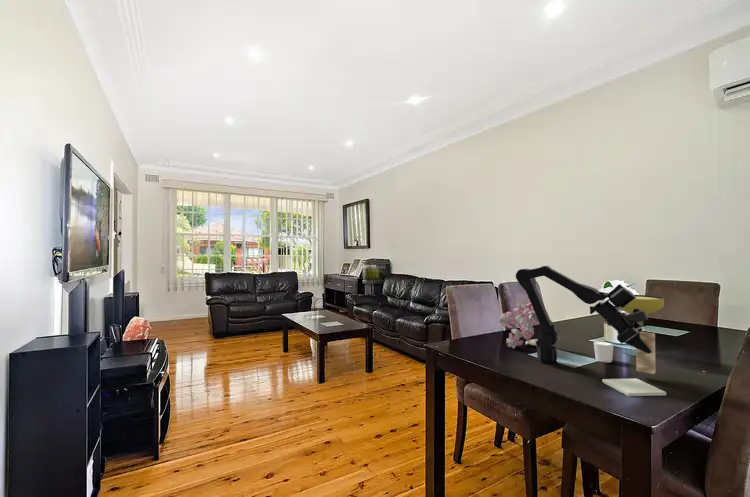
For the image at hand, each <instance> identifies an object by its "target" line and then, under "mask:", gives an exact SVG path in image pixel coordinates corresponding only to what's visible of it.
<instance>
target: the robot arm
mask: <svg viewBox="0 0 750 497" xmlns="http://www.w3.org/2000/svg"><path fill="white" fill-rule="evenodd" d="M539 277H545V278H547V279H549V280H550V281H553V282H554V283H556V284H558V285H559V286H561V287H563V288H565V289H567V290H568V291H570V292H571V293H573V295H575V296H576V297H577V298H578V299H579V300H580V301H582V302H583V303H585V304H586V305H591V306H589V314H590V315H592V314H594V313H595V312H596V313H597V314H598V315H599V316H600V317H601V318H603V320H604V321H606V323H607V325H608V326H609V327H610V326H611V327H612V328H613V329H614V330H615V331H616V334H617V335H616V341H618V342H619V343H620V344H622V345H623V344H624V345H628V346H631V347H633V348H635V349H636V348H637V349H639V350H642V351H644V352H646V353H648V354H649V353H651V350H650V349H649V348H648V347H647V345H646V344H645V343H644V342H643V341H642V339H641V338H640V332H643V326H642V323H640V322H644V321H648V320H649V317H648V314H647V315H646V312H645V311H644V310H640V309H638V308H636V309H633V313H631V314H629V313H627V314H626V313H625V312H622V311H619V308H618V307H622V308H623V307H625V306H626V305H627V304H629V303H630V302H631V301H633V300H634V299H635V298H636V296H635V295H636V294H634V293H633V292H632V291H630V289H627V288H626V287H624V286H623V285H622V284H618V285H616V286H615V287H614V288H613V289H612V290H610V292H607V291H606V292H604V291H600V290H598V289H597V288H595V287H592V286H589V285H586V284H584V283H580V282H577V281H576V280H573V279H572V278H570V277H568V276H566V275H565V274H562V273H561V272H559V271H557V270H555V269H553V268H552V267H551V266H549V265H542V266H541V267H536V268H531V269H530V268H521V269H519V270H517V271H516V272H515V279H516V280H517V282H518V284H519V285H520V286H521V288H522V289H523V290H524V291H525V293H526V295H527V298H528V301H529V300H530V302H531V305H532V307H533V309H534V312H535V314H536V316H537V319H538V321H539V324H538V325H539V333H540V336H541V337H540V338H539V339H537V340H538V341H536V345H537V346H536V355H537V357H535V360H537V361H538V362H540V363H542V364H558V363H559V361H558V351H557V349H556V348H557V347H556V346H555V345H556V344H557V342H559V341H560V340H561V338H562V334H561V333H562V330H561V329H560V327H559V323H558V322H555V323H554V322H553V321H552V320H551V318H550V316H549V313H548V310H547V309H546V306H545V304H544V302H543V300H542V298H541V296H540V293H539V291H538V289H537V280H536V278H539ZM607 298H608V299H607ZM606 299H607V300H606ZM604 300H606V301H604ZM601 301H604V302H601ZM530 302H529V303H530ZM597 302H598V303H597ZM595 303H596V304H595ZM592 304H594V305H592ZM638 327H639V329H637V328H638Z"/></svg>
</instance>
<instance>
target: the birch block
mask: <svg viewBox="0 0 750 497" xmlns="http://www.w3.org/2000/svg"><path fill="white" fill-rule="evenodd" d="M640 338H641V339H642V341H643V342H644V343H645V344H646V345H647V347H648V348H649V349H650V350H651V353H649V354H648V353H646V352H644V351H642V350H639V349H637V348H635V350H636V356H635V358H636V359H635V360H636V366H635V368H636V372H639V373H640V372H641V373H645V374H651V375H655V374H656V370H657V369H656V333H653V332H645V331H642V332H640Z"/></svg>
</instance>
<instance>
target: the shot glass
mask: <svg viewBox="0 0 750 497" xmlns="http://www.w3.org/2000/svg"><path fill="white" fill-rule="evenodd" d="M593 347H594V355H595V360H596V361H597V362H601V363H612V362H613V356H614V355H613V354H614V344H613V343H611V342H606V341H593Z"/></svg>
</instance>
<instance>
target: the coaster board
mask: <svg viewBox="0 0 750 497" xmlns="http://www.w3.org/2000/svg"><path fill="white" fill-rule="evenodd" d="M601 380H602V383H603V384H605V385H607V386H608V387H610V388H613V389H614V390H616V391H618V392H620V393H621V394H623V393H624V394H623V395H625V396H628V397H644V396H645V397H647V396H649V397H655V396H661V397H662V396H667V391H664V390H663V389H660V388H658V387H656V386H655V385H652V384H649V383H647V382H645V381H643V380H640V379H639V378H603V379H601Z"/></svg>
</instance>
